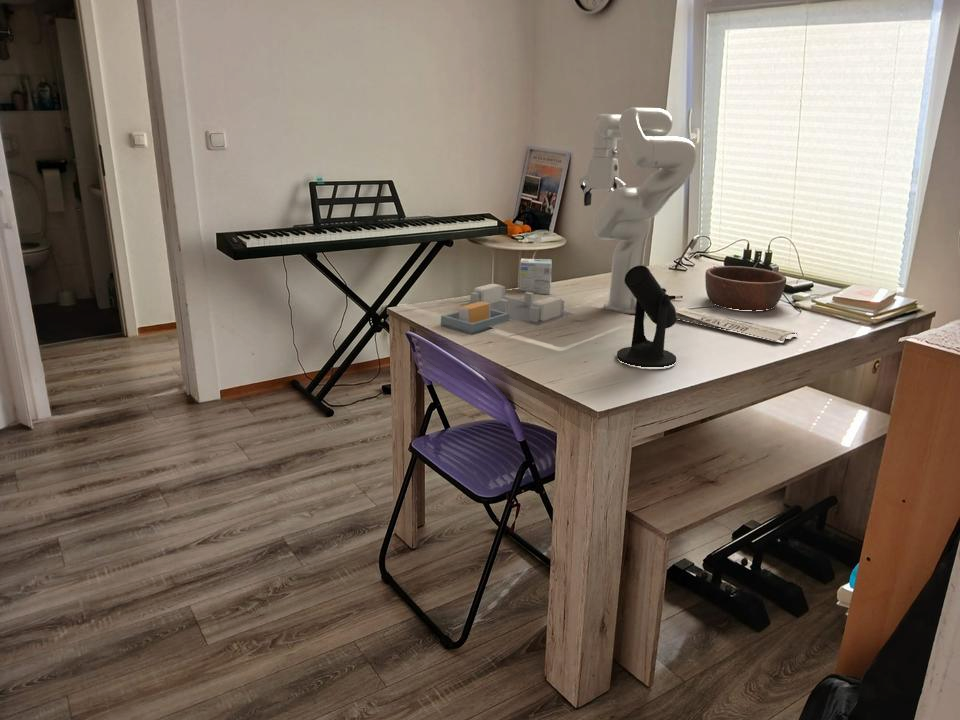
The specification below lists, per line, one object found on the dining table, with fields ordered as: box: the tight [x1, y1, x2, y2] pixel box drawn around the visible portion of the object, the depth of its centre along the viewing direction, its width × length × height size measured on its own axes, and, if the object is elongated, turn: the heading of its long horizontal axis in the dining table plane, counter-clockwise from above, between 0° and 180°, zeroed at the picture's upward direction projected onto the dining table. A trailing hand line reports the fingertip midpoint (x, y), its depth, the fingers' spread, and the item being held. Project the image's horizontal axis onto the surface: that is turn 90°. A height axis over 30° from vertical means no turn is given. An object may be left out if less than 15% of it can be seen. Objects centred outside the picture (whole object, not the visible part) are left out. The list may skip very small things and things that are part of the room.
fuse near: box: [533, 296, 563, 321], centre depth 228 cm, size 4×10×5 cm, turn 139°
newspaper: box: [675, 307, 798, 341], centre depth 225 cm, size 35×12×4 cm, turn 49°
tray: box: [440, 309, 510, 336], centre depth 222 cm, size 12×16×3 cm
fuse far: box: [473, 283, 503, 304], centre depth 242 cm, size 4×10×5 cm, turn 139°
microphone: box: [616, 265, 678, 367], centre depth 193 cm, size 15×17×25 cm
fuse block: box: [460, 285, 574, 326], centre depth 235 cm, size 30×18×5 cm, turn 49°
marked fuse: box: [458, 302, 491, 323], centre depth 221 cm, size 4×10×5 cm, turn 139°
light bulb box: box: [518, 258, 553, 295], centre depth 259 cm, size 11×7×11 cm, turn 84°
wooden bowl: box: [704, 265, 787, 311], centre depth 251 cm, size 25×25×10 cm
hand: (599, 207), depth 256 cm, fingers open, 9 cm apart
